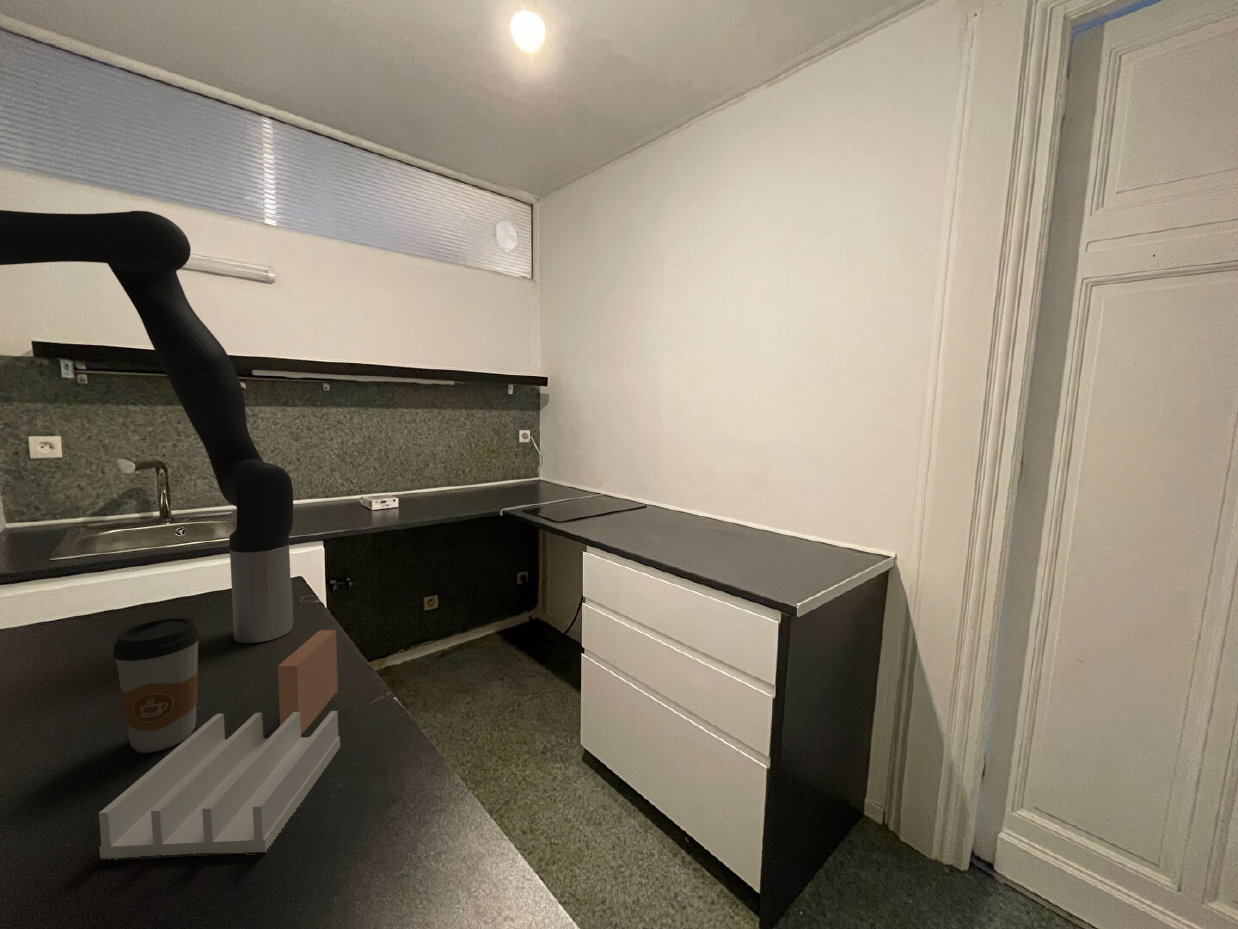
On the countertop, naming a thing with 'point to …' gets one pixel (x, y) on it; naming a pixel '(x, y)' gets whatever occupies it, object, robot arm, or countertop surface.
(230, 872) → the countertop surface
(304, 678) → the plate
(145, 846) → the dish rack
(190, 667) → the coffee cup
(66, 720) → the countertop surface
